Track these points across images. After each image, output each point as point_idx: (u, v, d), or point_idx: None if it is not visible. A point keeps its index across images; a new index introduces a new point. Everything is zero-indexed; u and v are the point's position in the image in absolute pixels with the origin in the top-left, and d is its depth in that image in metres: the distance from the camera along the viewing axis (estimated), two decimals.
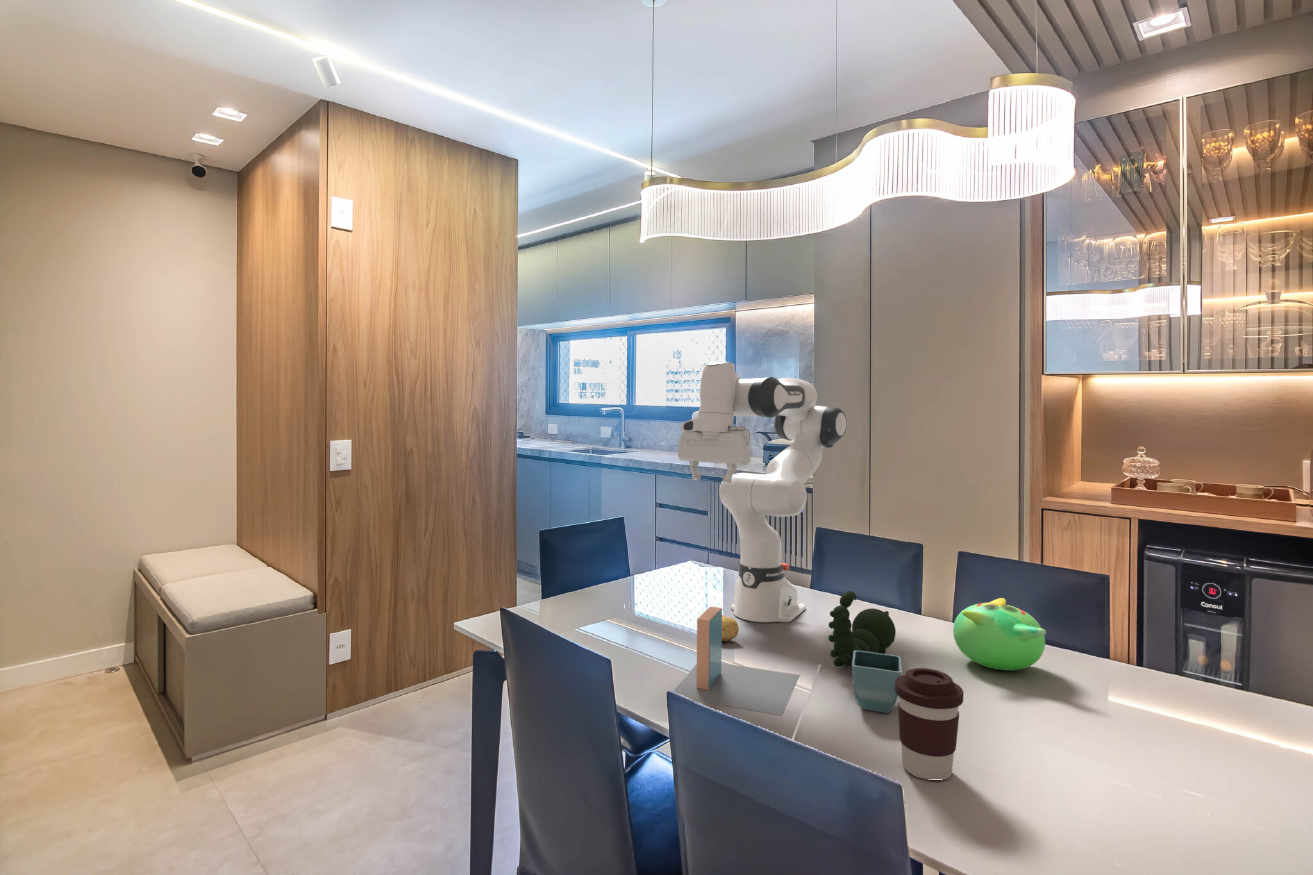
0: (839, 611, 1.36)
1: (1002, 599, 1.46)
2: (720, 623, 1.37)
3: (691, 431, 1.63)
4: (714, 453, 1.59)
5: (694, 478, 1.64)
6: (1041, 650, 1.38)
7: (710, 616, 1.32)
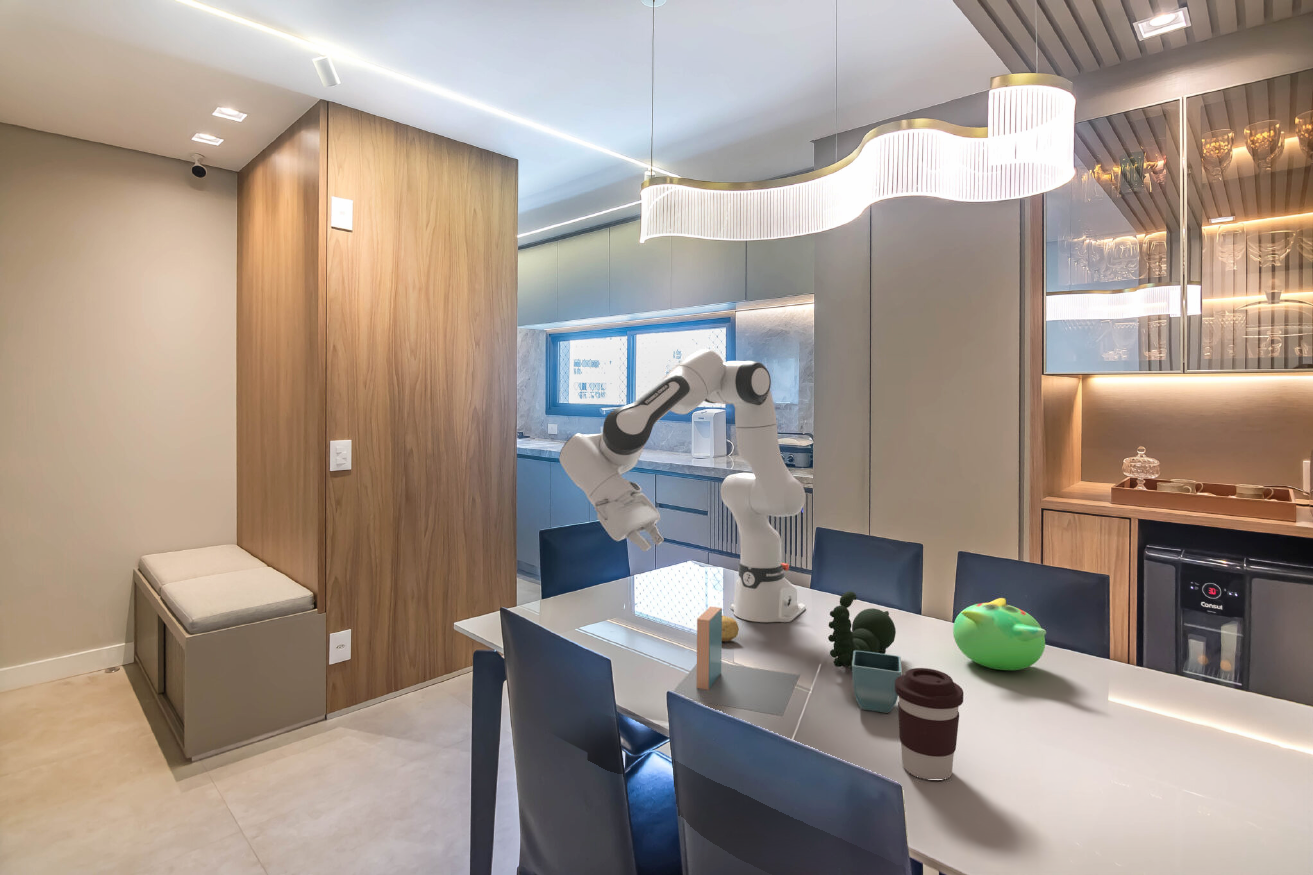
0: (839, 611, 1.36)
1: (1002, 599, 1.46)
2: (720, 623, 1.37)
3: None
4: None
5: None
6: (1041, 650, 1.38)
7: (710, 616, 1.32)
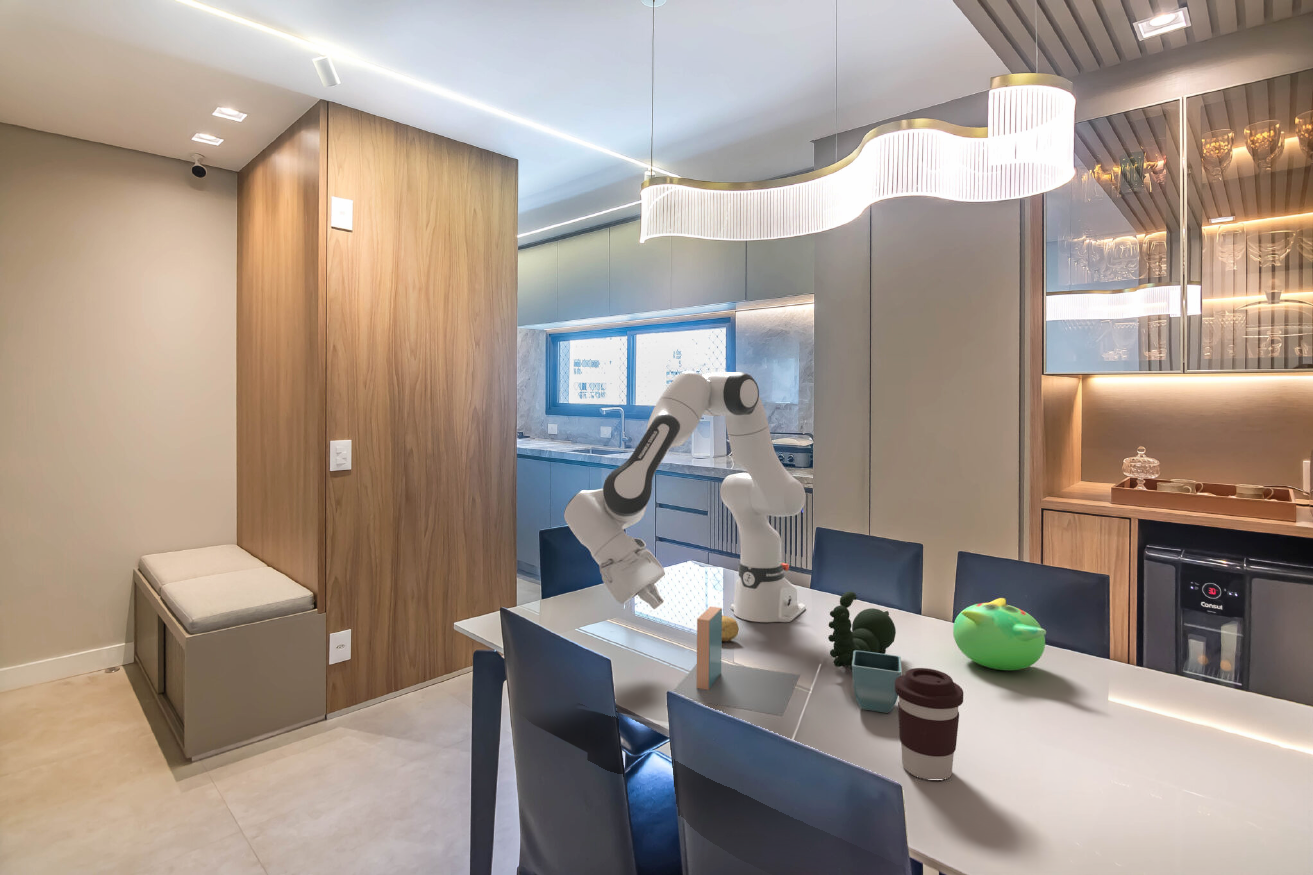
0: (839, 610, 1.36)
1: (1002, 599, 1.46)
2: (720, 623, 1.37)
3: None
4: None
5: None
6: (1041, 650, 1.38)
7: (710, 616, 1.32)
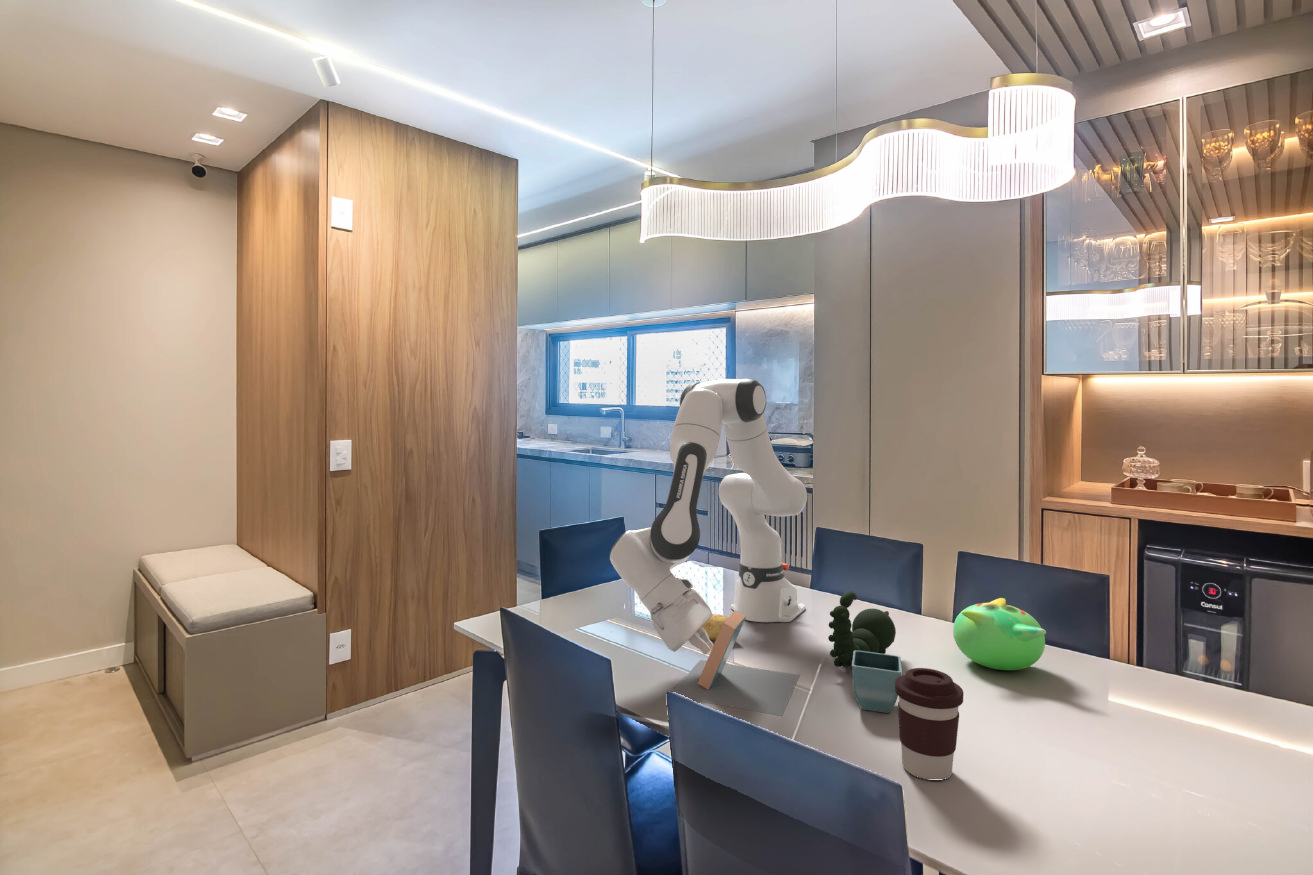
0: (839, 610, 1.36)
1: (1002, 599, 1.46)
2: (739, 630, 1.35)
3: None
4: None
5: None
6: (1041, 650, 1.38)
7: (735, 623, 1.30)
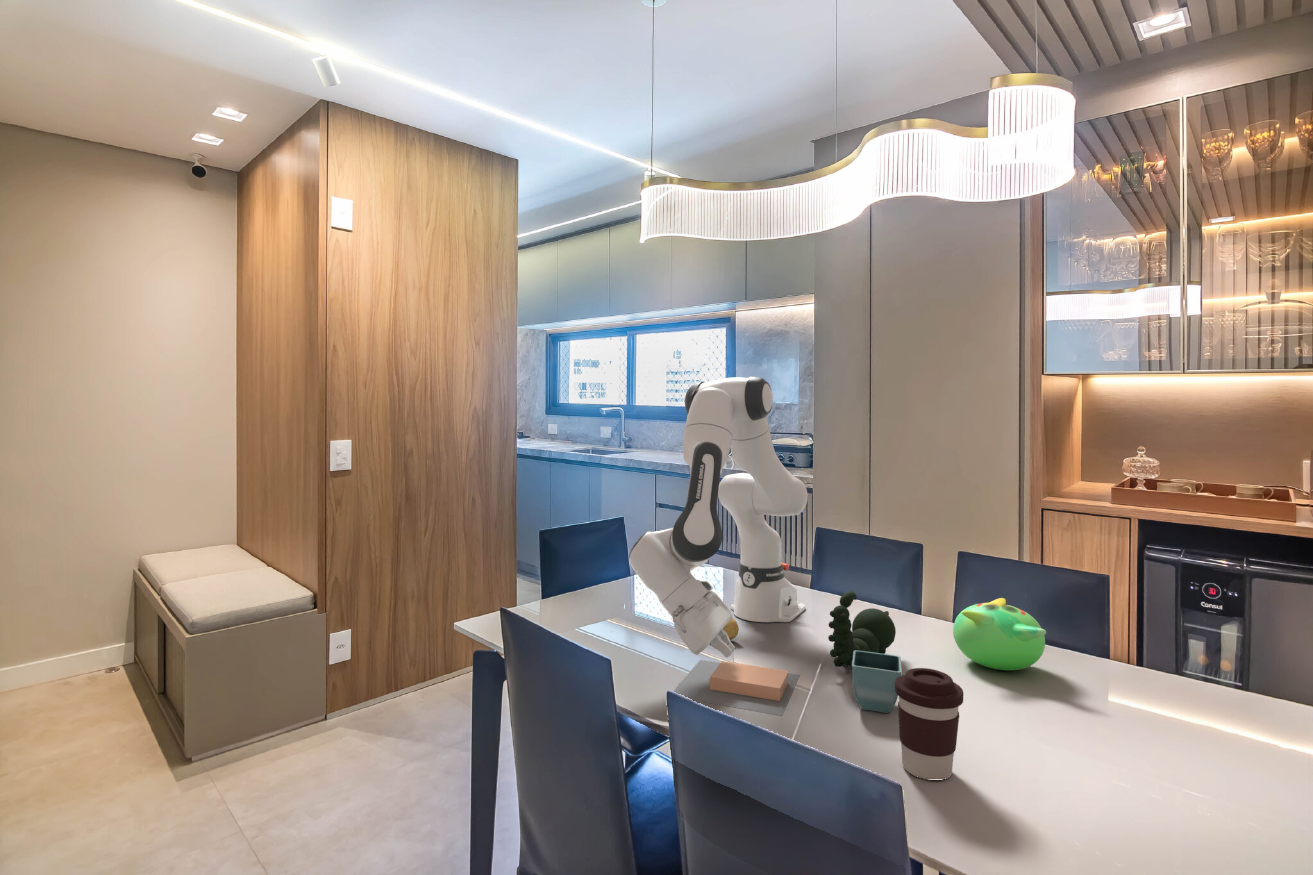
0: (839, 610, 1.36)
1: (1002, 599, 1.46)
2: None
3: None
4: None
5: None
6: (1041, 650, 1.38)
7: (782, 693, 1.27)
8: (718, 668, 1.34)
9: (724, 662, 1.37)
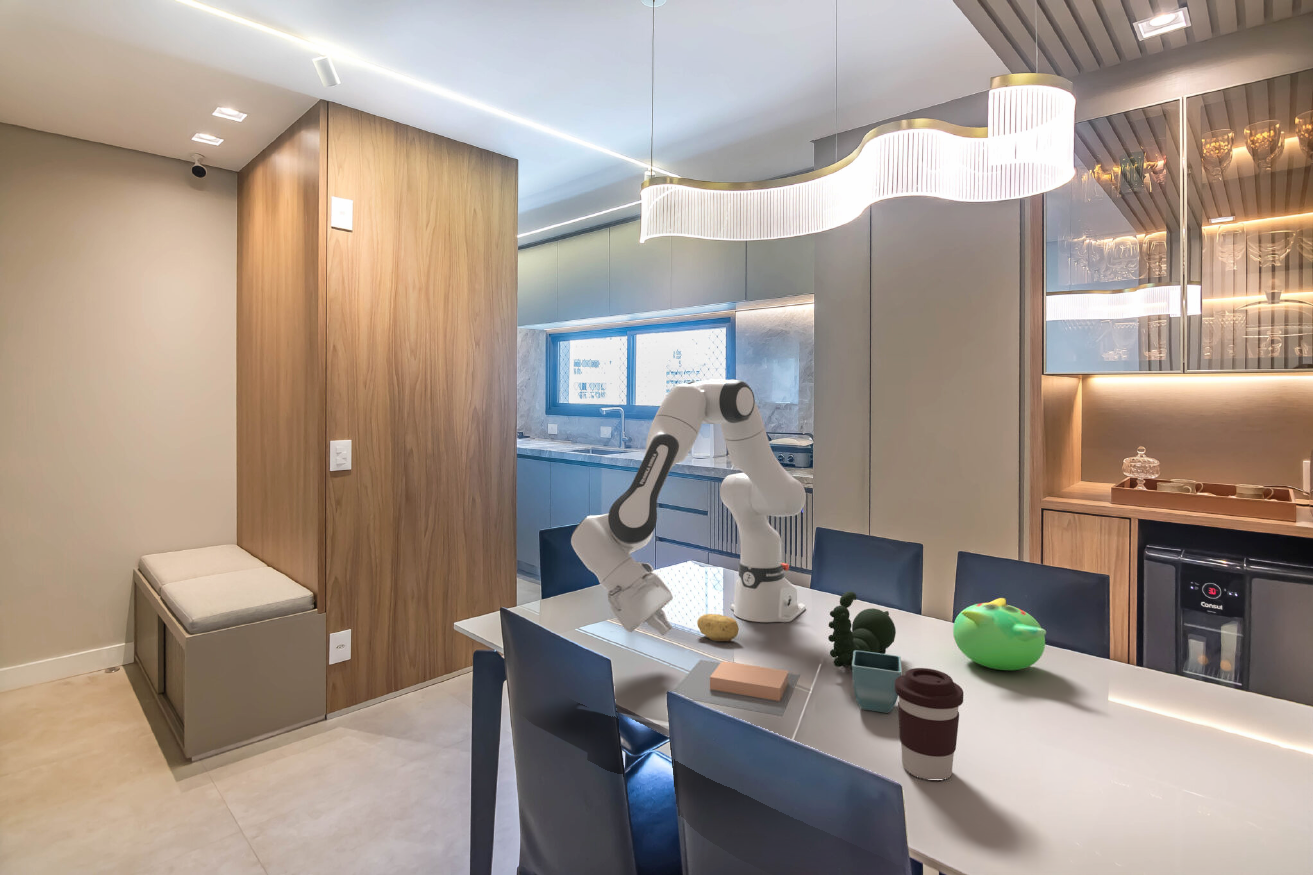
0: (839, 610, 1.36)
1: (1002, 599, 1.46)
2: None
3: None
4: None
5: None
6: (1041, 650, 1.38)
7: (782, 693, 1.27)
8: (718, 668, 1.34)
9: (724, 662, 1.37)
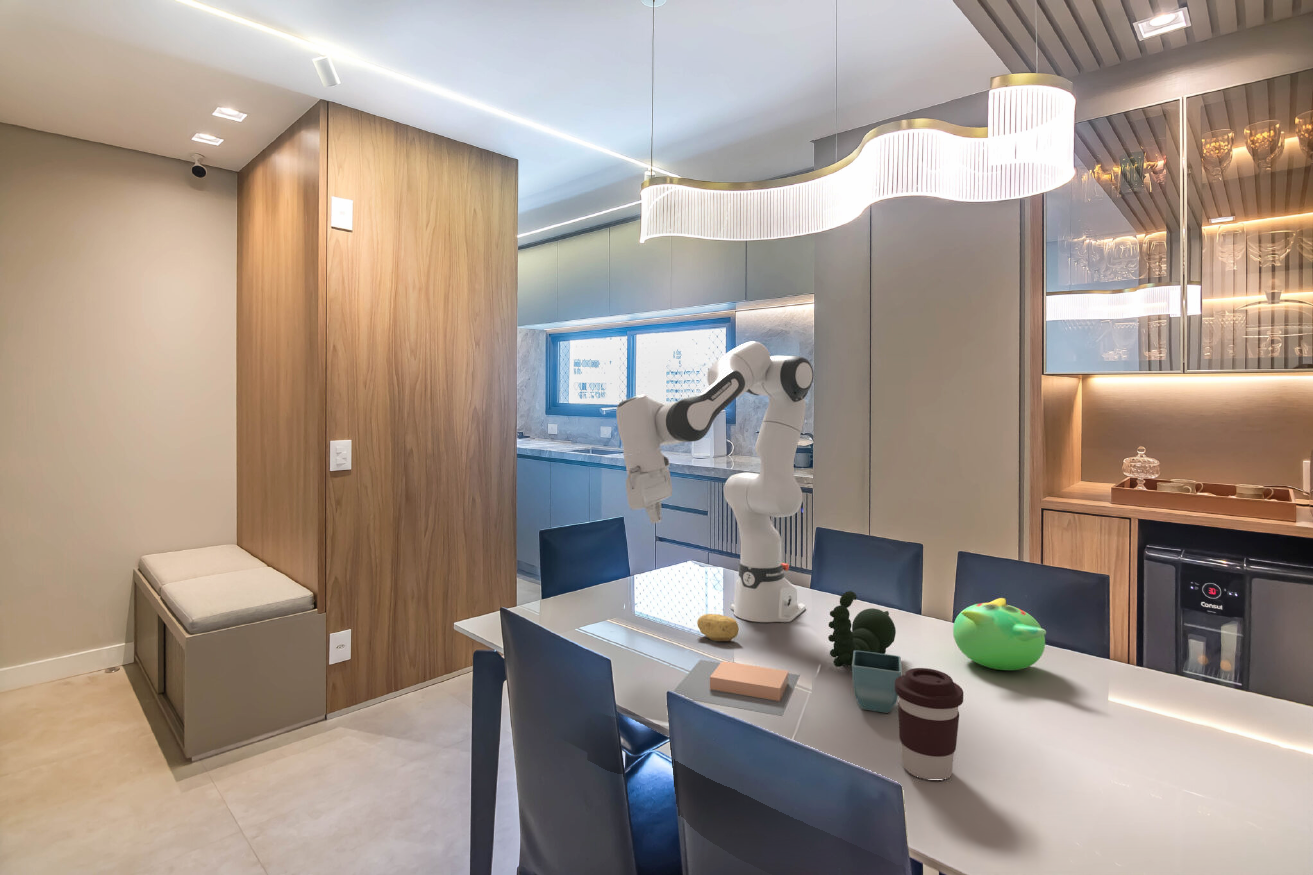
0: (839, 610, 1.36)
1: (1002, 599, 1.46)
2: None
3: None
4: None
5: None
6: (1041, 650, 1.38)
7: (782, 693, 1.27)
8: (718, 668, 1.34)
9: (724, 662, 1.37)
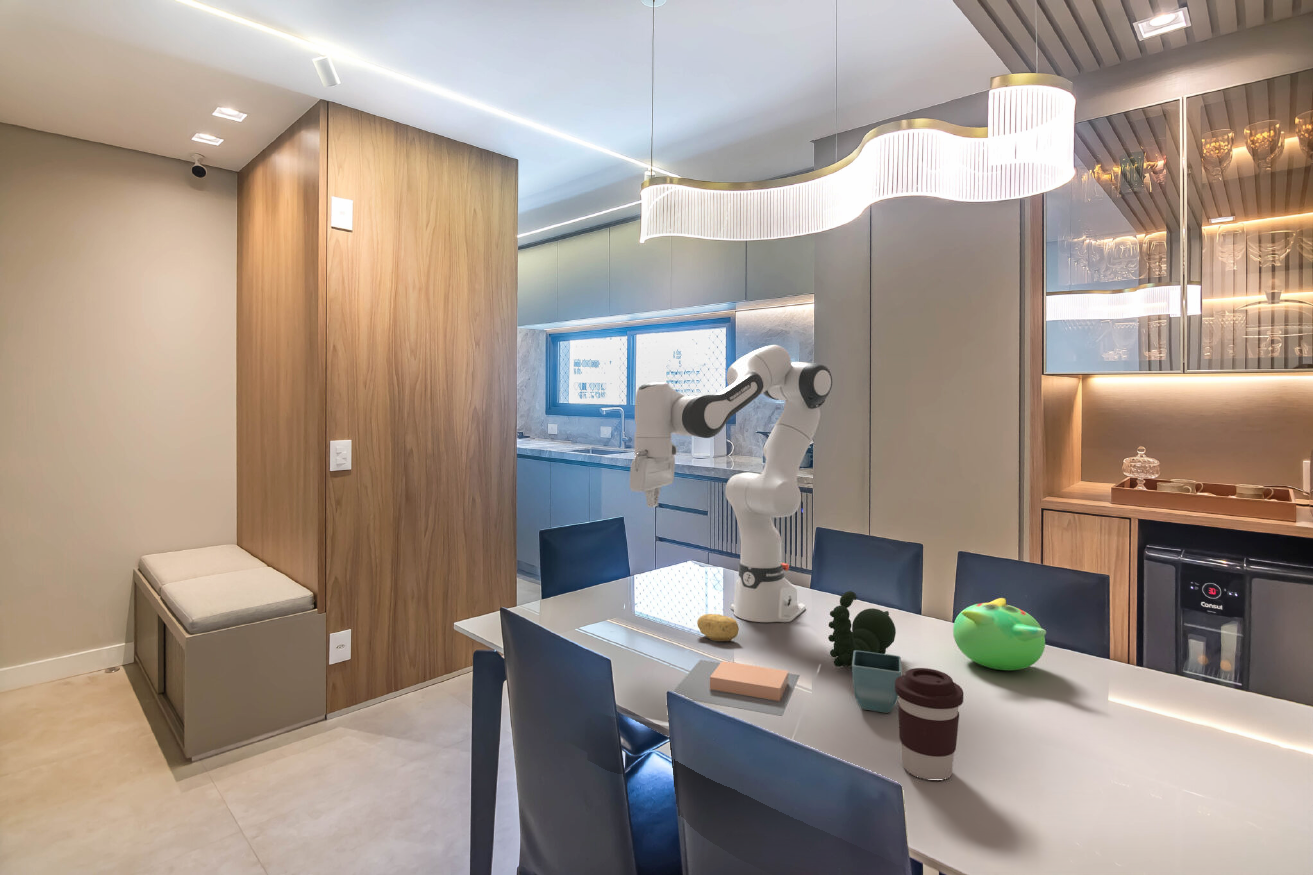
0: (839, 610, 1.36)
1: (1002, 599, 1.46)
2: None
3: None
4: None
5: None
6: (1041, 650, 1.38)
7: (782, 693, 1.27)
8: (718, 668, 1.34)
9: (724, 662, 1.37)
